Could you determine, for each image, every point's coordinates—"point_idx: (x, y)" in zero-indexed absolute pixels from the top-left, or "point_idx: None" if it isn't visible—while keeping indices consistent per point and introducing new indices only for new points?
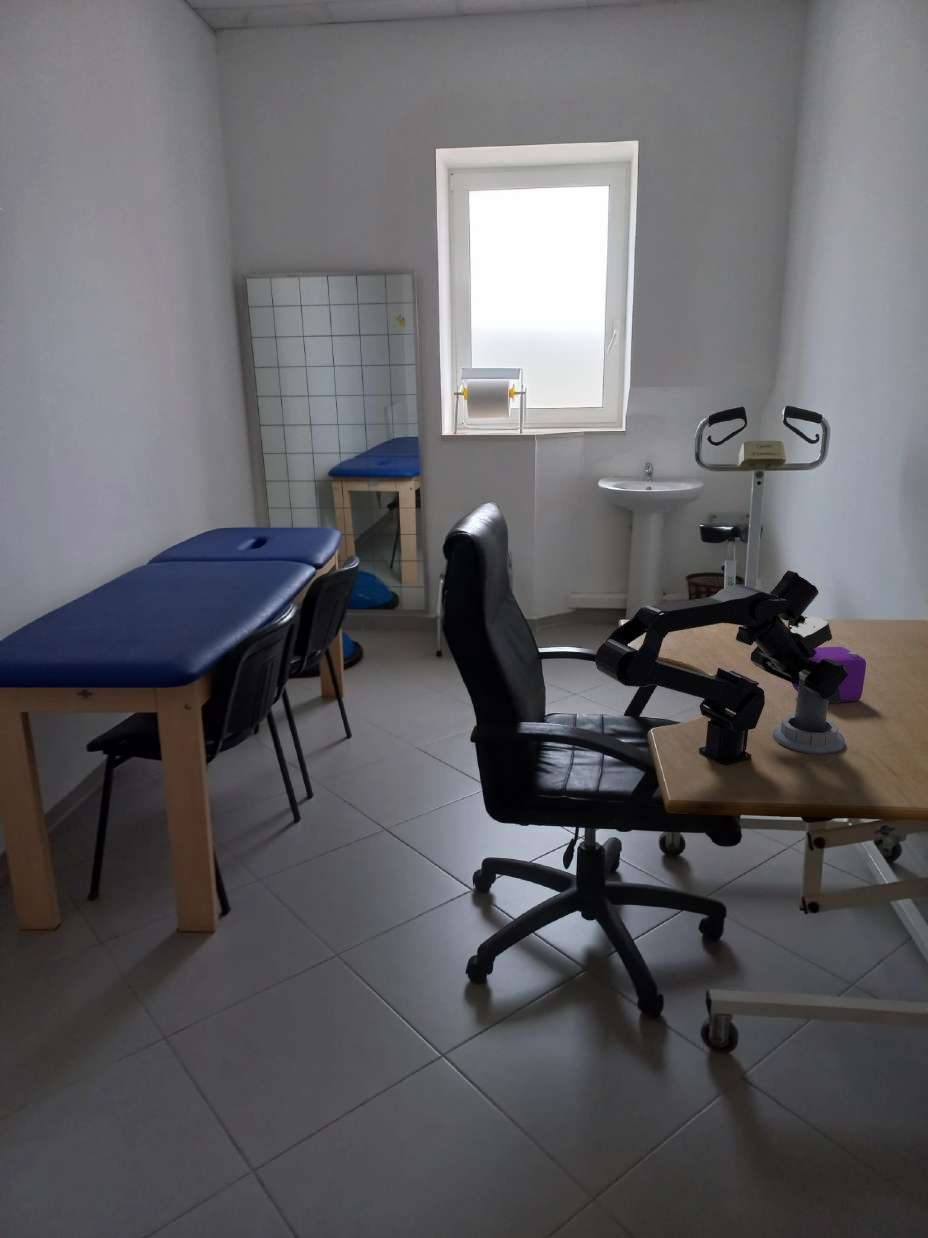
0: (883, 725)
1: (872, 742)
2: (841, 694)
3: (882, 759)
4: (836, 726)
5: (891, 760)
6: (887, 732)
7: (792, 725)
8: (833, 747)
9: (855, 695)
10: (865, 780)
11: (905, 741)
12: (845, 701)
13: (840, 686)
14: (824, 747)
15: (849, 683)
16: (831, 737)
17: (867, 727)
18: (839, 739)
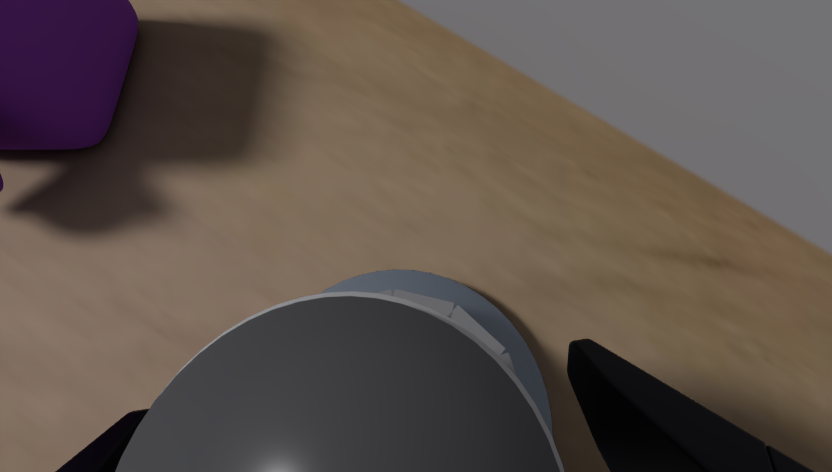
0: (339, 67)
1: (461, 179)
2: (107, 66)
3: (602, 232)
4: (440, 303)
5: (611, 207)
6: (393, 88)
7: None
8: (541, 387)
9: (127, 23)
10: (790, 410)
11: (469, 78)
12: (127, 67)
13: (76, 46)
14: None
15: (79, 4)
16: None
17: (341, 122)
18: (467, 310)
